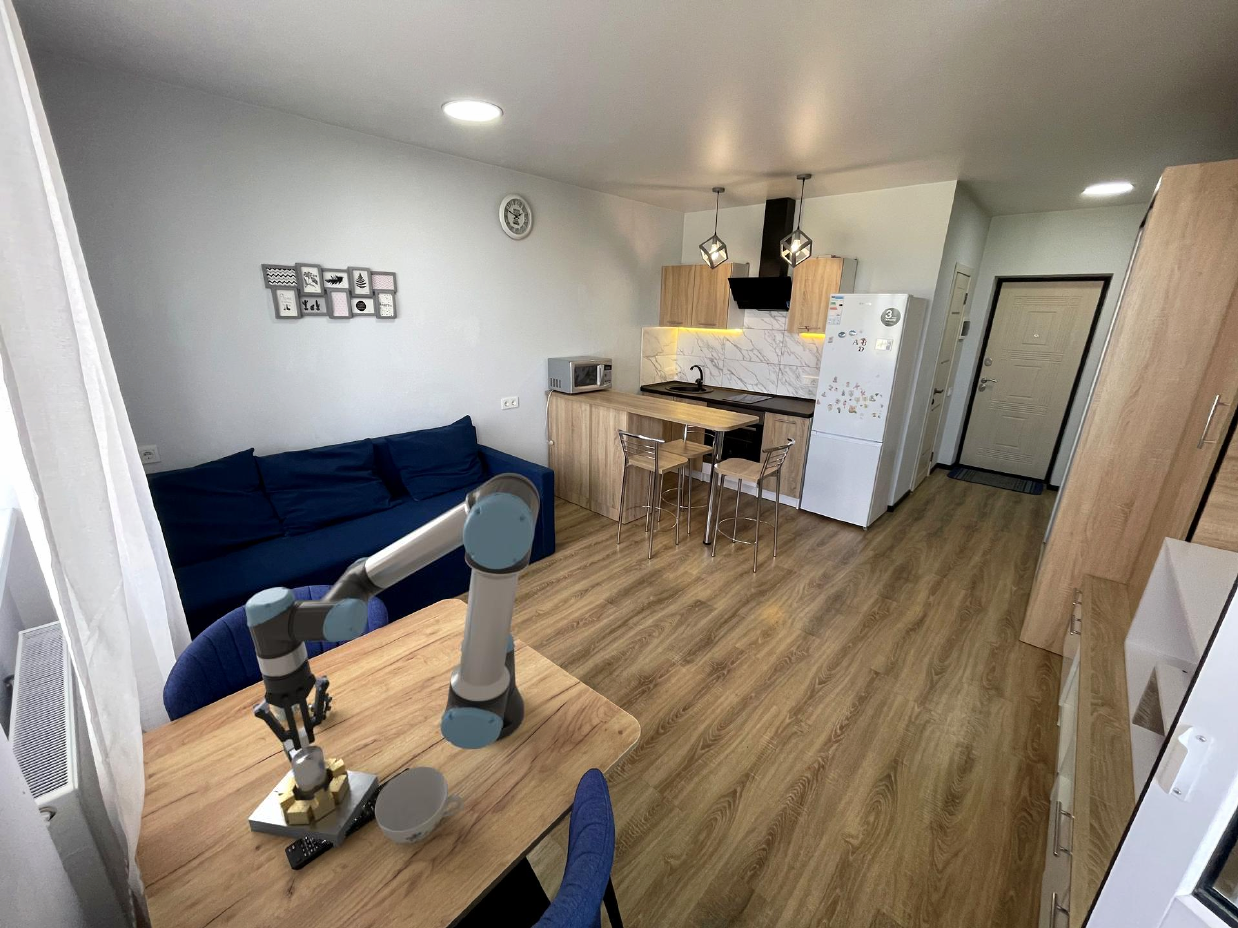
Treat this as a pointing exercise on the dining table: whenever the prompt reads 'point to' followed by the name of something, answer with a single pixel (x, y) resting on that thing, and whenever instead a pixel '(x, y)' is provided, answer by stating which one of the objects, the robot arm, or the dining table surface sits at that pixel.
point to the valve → (281, 714)
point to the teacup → (413, 804)
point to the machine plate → (324, 824)
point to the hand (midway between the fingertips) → (307, 756)
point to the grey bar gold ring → (322, 799)
